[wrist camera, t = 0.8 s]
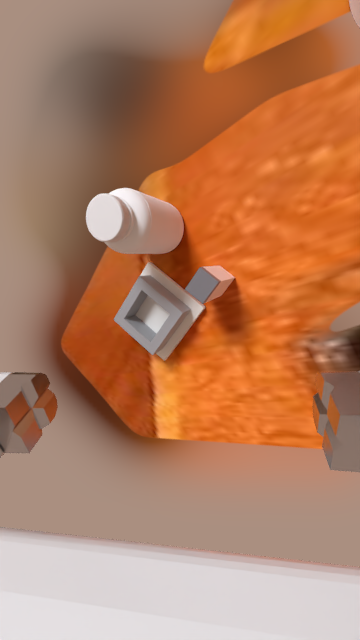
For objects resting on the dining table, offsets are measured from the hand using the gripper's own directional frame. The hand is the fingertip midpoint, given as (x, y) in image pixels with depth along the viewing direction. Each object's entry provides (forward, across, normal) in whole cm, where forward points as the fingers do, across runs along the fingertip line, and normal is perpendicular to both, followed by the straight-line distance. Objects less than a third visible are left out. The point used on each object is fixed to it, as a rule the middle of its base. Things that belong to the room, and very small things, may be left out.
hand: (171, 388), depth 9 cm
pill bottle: (+40, +9, +2) cm, 41 cm away
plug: (+36, 0, +10) cm, 37 cm away
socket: (+37, +11, +15) cm, 41 cm away
